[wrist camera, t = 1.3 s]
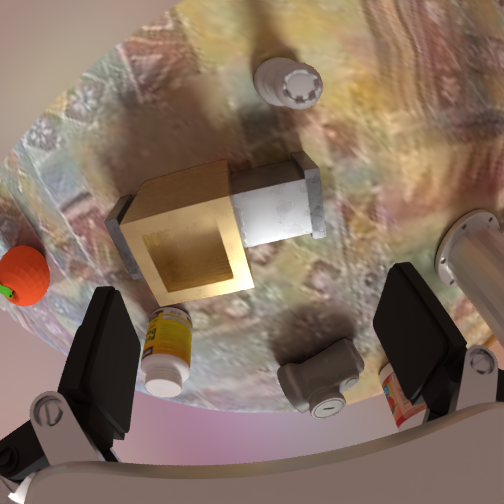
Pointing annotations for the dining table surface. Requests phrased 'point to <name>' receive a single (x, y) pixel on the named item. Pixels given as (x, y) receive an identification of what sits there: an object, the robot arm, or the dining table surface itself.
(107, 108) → the dining table surface
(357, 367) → the pipe fitting
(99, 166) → the dining table surface
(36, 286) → the clementine
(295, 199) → the valve body
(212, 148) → the dining table surface
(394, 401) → the fruit juice
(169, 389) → the supplement bottle
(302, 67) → the rook chess piece
